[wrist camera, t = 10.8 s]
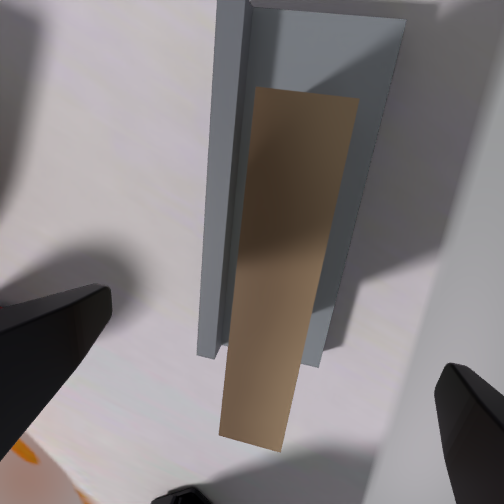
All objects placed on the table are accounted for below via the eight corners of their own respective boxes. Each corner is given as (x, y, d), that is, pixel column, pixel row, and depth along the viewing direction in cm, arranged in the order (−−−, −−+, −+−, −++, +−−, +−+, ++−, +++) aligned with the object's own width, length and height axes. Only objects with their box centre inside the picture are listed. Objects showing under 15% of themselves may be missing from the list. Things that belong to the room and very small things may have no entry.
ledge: (399, 27, 15) (415, 9, 13) (319, 352, 23) (318, 384, 20) (231, 13, 16) (212, -7, 14) (208, 327, 24) (193, 354, 21)
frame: (344, 106, 16) (362, 98, 7) (300, 317, 20) (281, 452, 12) (292, 99, 16) (253, 85, 8) (260, 309, 21) (217, 435, 13)
